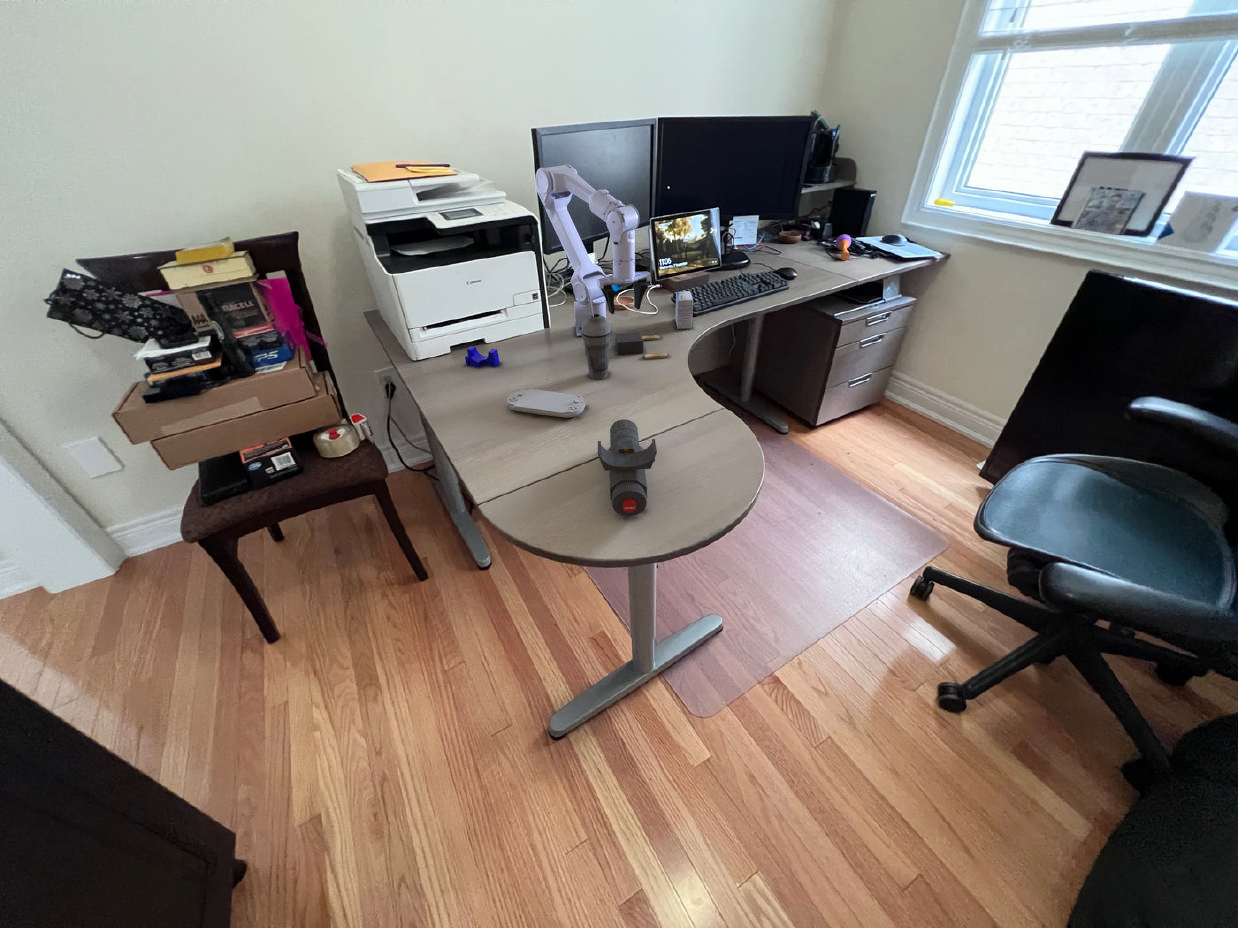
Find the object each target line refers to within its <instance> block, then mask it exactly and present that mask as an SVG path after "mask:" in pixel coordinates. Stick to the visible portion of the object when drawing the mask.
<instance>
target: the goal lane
mask: <svg viewBox="0 0 1238 928" xmlns="http://www.w3.org/2000/svg"><path fill="white" fill-rule="evenodd" d="M641 336H642V335H641ZM642 339H643V341H654V340H660V339H661V338H660V335H659V334H655V335H643V336H642ZM643 356H644V359H645V360H649V359H661V358H662V359H664V358H668V353H667V352H663V353H662V352H660V353H647V354H644V355H643Z"/></svg>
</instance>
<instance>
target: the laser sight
mask: <svg viewBox="0 0 1238 928" xmlns="http://www.w3.org/2000/svg"><path fill="white" fill-rule="evenodd" d="M639 438H640V437H639V428H638V426H637V424H636V422H634V421H632V420H630V419H626V418H625V419H618V420H617V421H614V422H613V424H611V426H610V428H609V443H610V447H609V448H608V449H606V448H605V447H604V446H603V445H602V440H597V456H598V458H599V459H598V460H599V461H600V464H601V465H602V468H603V471H606V472H607V471H608V472H609V495H610V496H609V497H610V501H611V507H612V509H613V511H614V512H615V513H616V514H618V515H620V516H623V517H634V516H638V515H639V514H641V513H643V511H645V510H646V508H647V505H648V485H647V476H646V470H651V469H652V467H653V464H654V463H655V462H656V456H657V453H658V449H657V443H656V439H655V438H651V444H650V445H649V446H647V447H646V448H645V449H643V447H642V446H641V445H640V439H639Z"/></svg>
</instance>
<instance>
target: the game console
mask: <svg viewBox="0 0 1238 928" xmlns="http://www.w3.org/2000/svg"><path fill="white" fill-rule="evenodd" d="M506 404H507V407H508V408H509V409H510V410H512V411H515V412H520V413H527V414H533V415H534V414H536V415H539V416H549V417H556V418H564V419H567V418H575V417H577V416H579V415H580V414H582V412H583V411H584V409H585V407H586V399H585V398H584V397H583V396H582V395H579V394H575V393H567V392H560V391H551V390H544V389H537V388H520V389H518V390H515V391H512V392H511V393H510V395H508V397H507V398H506Z"/></svg>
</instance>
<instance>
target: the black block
mask: <svg viewBox="0 0 1238 928" xmlns="http://www.w3.org/2000/svg"><path fill="white" fill-rule="evenodd" d="M614 337H615V338H614V341H615V342H614V343H615V350H616V353H617V355H631V354H632V355H633V354H643V353H644V340H643V339H642V333H641V331H638V332H624V333H623V332H622V333H614Z"/></svg>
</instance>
